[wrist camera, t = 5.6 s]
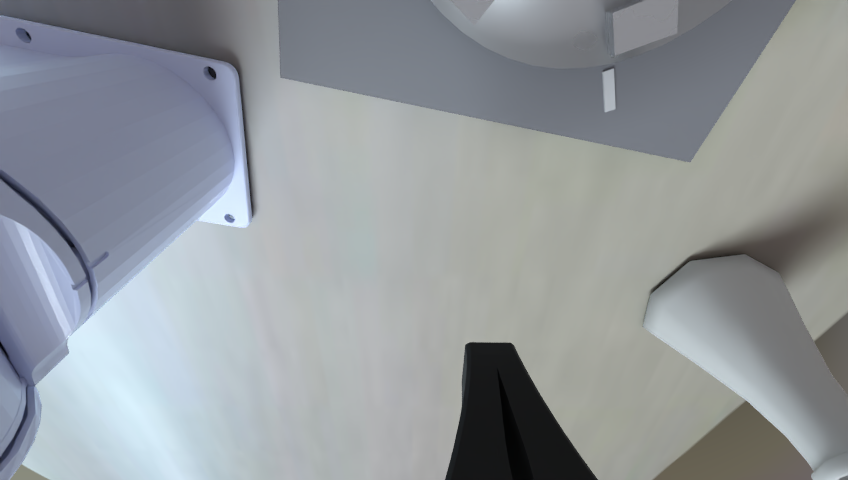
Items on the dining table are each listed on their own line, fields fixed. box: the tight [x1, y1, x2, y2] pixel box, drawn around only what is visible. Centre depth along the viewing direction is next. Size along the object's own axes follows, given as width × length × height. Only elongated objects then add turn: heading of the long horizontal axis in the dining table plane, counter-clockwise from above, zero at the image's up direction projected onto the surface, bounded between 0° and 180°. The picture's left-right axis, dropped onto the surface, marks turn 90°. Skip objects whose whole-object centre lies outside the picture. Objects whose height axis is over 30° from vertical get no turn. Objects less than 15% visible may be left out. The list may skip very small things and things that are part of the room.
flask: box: [643, 254, 848, 480], centre depth 17 cm, size 7×7×10 cm
